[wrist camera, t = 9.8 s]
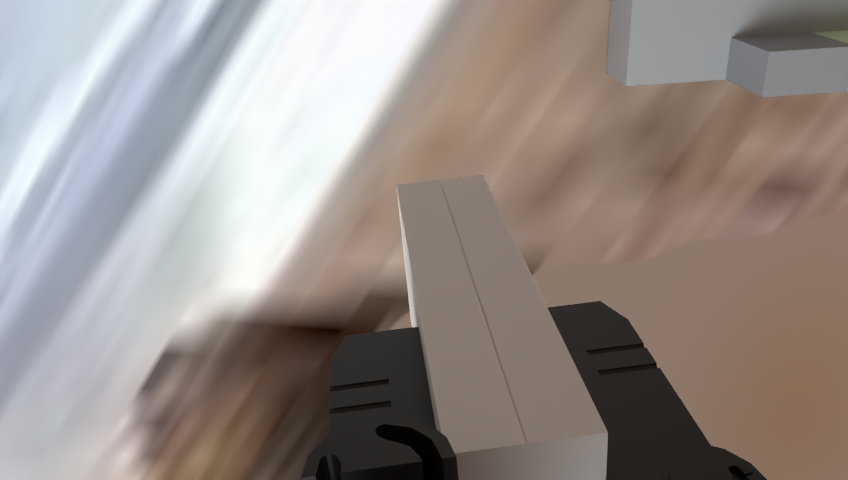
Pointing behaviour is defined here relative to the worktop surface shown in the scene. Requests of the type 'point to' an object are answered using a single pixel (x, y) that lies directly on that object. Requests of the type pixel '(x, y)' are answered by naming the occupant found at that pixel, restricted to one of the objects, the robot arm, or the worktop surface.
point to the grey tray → (731, 44)
